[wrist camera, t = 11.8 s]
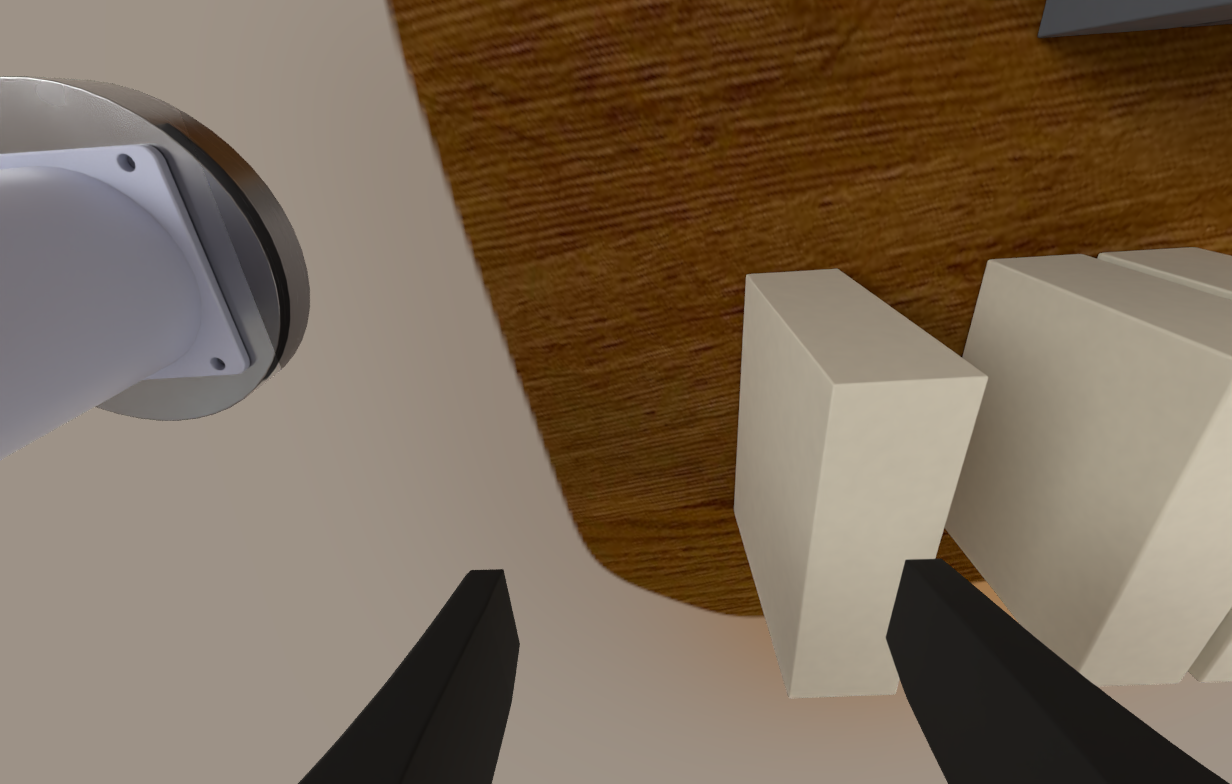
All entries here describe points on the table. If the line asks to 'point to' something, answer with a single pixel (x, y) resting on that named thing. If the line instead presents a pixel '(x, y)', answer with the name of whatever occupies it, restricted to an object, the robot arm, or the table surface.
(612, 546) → the table surface
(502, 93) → the table surface
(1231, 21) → the grey book
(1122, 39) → the table surface
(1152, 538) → the white book
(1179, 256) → the white book
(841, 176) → the table surface
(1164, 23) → the grey book
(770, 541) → the white book
